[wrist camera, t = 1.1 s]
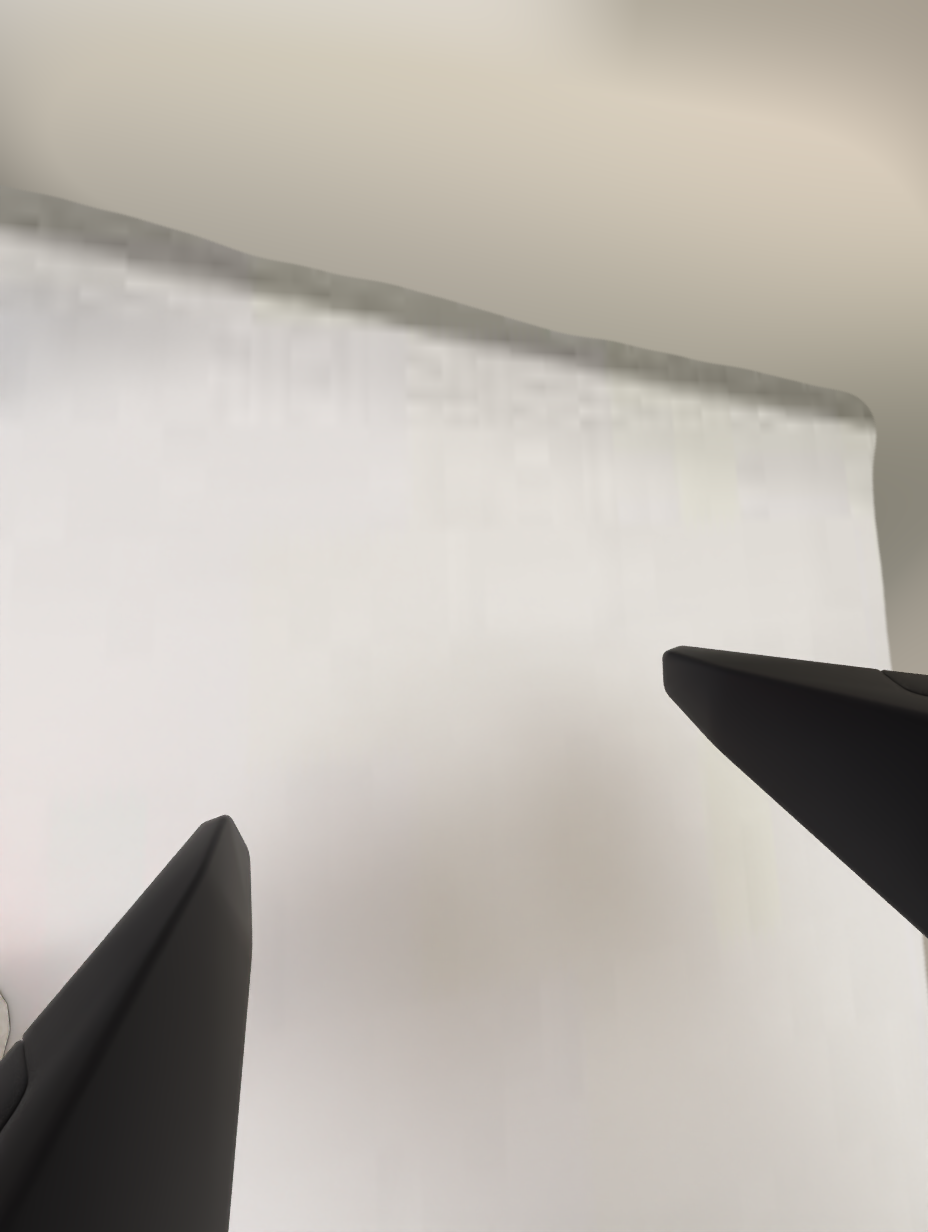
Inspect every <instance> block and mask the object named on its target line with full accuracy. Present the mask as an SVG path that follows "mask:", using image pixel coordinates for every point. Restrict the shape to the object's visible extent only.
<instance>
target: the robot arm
mask: <svg viewBox="0 0 928 1232" xmlns="http://www.w3.org/2000/svg"><path fill="white" fill-rule="evenodd" d="M662 661H663V682H664V688H665V690H666V692H667V694H668V695H669V697H670V698H671V699H672V700H673V701H674V702H675V703H676V704H677V705H678V706H679V708H680V709H681V710H682V711H683V712H684V713H685V714H686V715H687V716H688V717H689V719H690V720H691V721H692V722H693V723H694V724H695V725H696V726H697V727H698V728H699V729H700V731H701V732H702V733H703V734H704V735H705V736H706V737H707V738H708V739H709V740H710V741H711V742H712V743H713V744H714V745H715V746H716V747H717V748H718V749H719V750H720V751H721V752H722V753H723V754H724V755H725V756H726V757H727V758H728V759H729V760H731V761H732V762H733V763H734V764H735V765H736V766H737V767H738V768H739V769H740V770H742V771H743V772H744V773H745V774H746V775H747V776H748V777H749V778H750V779H752V780H753V781H754V782H755V783H756V784H757V785H758V786H759V787H760V788H762V789H763V790H764V791H765V792H766V793H767V794H768V795H769V796H770V797H772V798H773V799H774V800H775V801H776V802H777V803H778V804H779V805H780V806H782V807H783V808H784V809H785V810H786V811H787V812H788V813H789V814H790V815H791V816H793V817H794V818H795V819H796V820H797V821H798V822H799V823H800V824H801V825H803V826H804V827H805V828H806V829H807V830H808V831H809V832H810V833H811V834H813V835H814V836H815V837H816V838H817V839H818V840H819V841H820V842H821V843H823V844H824V845H825V846H826V847H827V848H828V849H829V850H830V851H831V852H833V853H834V854H835V855H836V856H837V857H838V858H839V859H840V860H841V861H842V862H844V863H845V864H846V865H847V866H848V867H849V868H850V869H851V870H852V871H854V872H855V873H856V874H857V875H858V876H859V877H860V878H861V879H862V880H864V881H865V882H866V883H867V884H868V885H869V886H870V887H871V888H872V889H874V890H875V891H876V892H877V893H878V894H879V895H880V896H881V897H882V898H883V899H885V900H886V901H887V902H888V903H889V904H890V905H891V906H892V907H893V908H895V909H896V910H897V911H898V912H899V913H900V914H901V915H902V916H903V917H905V918H906V919H907V920H908V921H909V922H910V923H911V924H912V925H913V926H915V927H916V928H917V929H918V930H919V931H920V932H921V933H922V934H923V935H925V936H926V937H927V938H928V675H922V674H913V673H904V672H896V671H888V670H882V671H879V670H878V669H871V668H863V667H854V666H846V665H838V664H830V663H821V662H813V661H805V660H797V659H789V658H780V657H772V656H764V655H756V654H748V653H739V652H731V651H723V650H715V649H706V648H698V647H690V646H678V647H676V648H673V649H670V650H668V651H666V652H665V653H664V654H663V658H662ZM251 960H252V907H251V872H250V856H249V851H248V848H247V846H246V844H245V842H244V840H243V838H242V836H241V835H240V833H239V831H238V829H237V827H236V825H235V823H234V821H233V820H232V818H231V817H230V816H228V815H222V816H220V817H217V818H214V819H212V820H209V821H206V822H204V823H203V824H201V825H200V827H199V828H198V829H197V830H196V831H195V832H194V834H193V835H192V836H191V837H190V838H189V839H188V841H187V842H186V843H185V844H184V845H183V847H182V848H181V849H180V850H179V851H178V852H177V854H176V855H175V856H174V857H173V858H172V860H171V861H170V862H169V863H168V864H167V865H166V867H165V868H164V869H163V870H162V871H161V873H160V874H159V875H158V876H157V877H156V878H155V880H154V881H153V882H152V883H151V884H150V886H149V887H148V888H147V889H146V890H145V891H144V893H143V894H142V895H141V896H140V897H139V898H138V900H137V901H136V902H135V903H134V904H133V906H132V907H131V908H130V909H129V910H128V911H127V913H126V914H125V915H124V916H123V917H122V919H121V920H120V921H119V922H118V923H117V924H116V926H115V927H114V928H113V929H112V930H111V932H110V933H109V934H108V935H107V936H106V937H105V939H104V940H103V941H102V942H101V943H100V944H99V946H98V947H97V948H96V949H95V950H94V952H93V953H92V954H91V955H90V956H89V957H88V959H87V960H86V961H85V962H84V963H83V965H82V966H81V967H80V968H79V969H78V970H77V972H76V973H75V974H74V975H73V976H72V977H71V979H70V980H69V981H68V982H67V983H66V985H65V986H64V987H63V988H62V989H61V990H60V992H59V993H58V994H57V995H56V996H55V998H54V999H53V1000H52V1001H51V1002H50V1003H49V1005H48V1006H47V1007H46V1008H45V1009H44V1010H43V1012H42V1013H41V1014H40V1015H39V1016H38V1018H37V1019H36V1020H35V1021H34V1022H33V1023H32V1025H31V1026H30V1027H29V1028H28V1029H27V1030H26V1032H25V1033H24V1034H23V1038H22V1039H23V1041H22V1040H20V1041H18V1042H16V1043H15V1044H14V1046H13V1047H12V1048H11V1049H10V1050H9V1052H8V1053H7V1054H6V1055H5V1056H4V1058H3V1059H2V1060H1V1061H0V1232H228V1229H229V1217H230V1206H231V1194H232V1182H233V1171H234V1159H235V1147H236V1136H237V1124H238V1112H239V1101H240V1089H241V1077H242V1066H243V1054H244V1042H245V1031H246V1019H247V1007H248V996H249V984H250V972H251Z"/></svg>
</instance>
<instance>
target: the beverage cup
mask: <svg viewBox="0 0 928 1232" xmlns="http://www.w3.org/2000/svg"><path fill="white" fill-rule="evenodd" d="M9 1032H10V1026H9V1017H8V1008H7V1004H6V1002H5V1001H4V999H3V998H2V996H1V995H0V1061H1V1059H2V1058H3V1054H4V1050H5V1047H6V1043H7V1039H8V1035H9Z"/></svg>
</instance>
